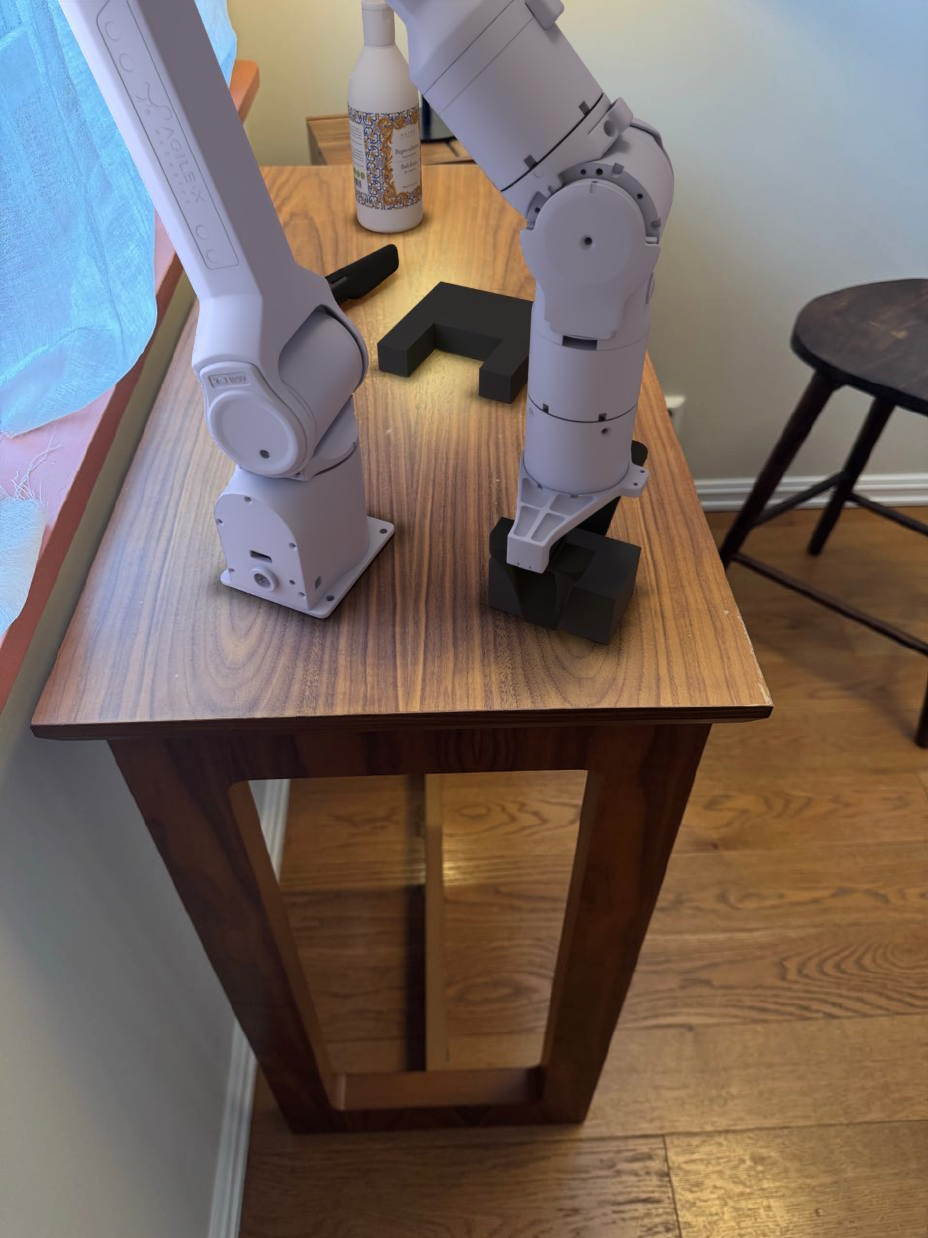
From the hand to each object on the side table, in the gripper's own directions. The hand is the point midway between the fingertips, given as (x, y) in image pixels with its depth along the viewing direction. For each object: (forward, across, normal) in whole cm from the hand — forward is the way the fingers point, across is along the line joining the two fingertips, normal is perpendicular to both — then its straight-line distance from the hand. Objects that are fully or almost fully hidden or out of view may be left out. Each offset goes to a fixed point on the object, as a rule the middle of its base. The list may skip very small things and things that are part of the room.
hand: (563, 581), depth 57 cm
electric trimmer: (+2, +28, +33) cm, 43 cm away
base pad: (+2, +25, +18) cm, 31 cm away
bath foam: (+2, +46, +37) cm, 58 cm away
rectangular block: (+2, 0, 0) cm, 2 cm away
